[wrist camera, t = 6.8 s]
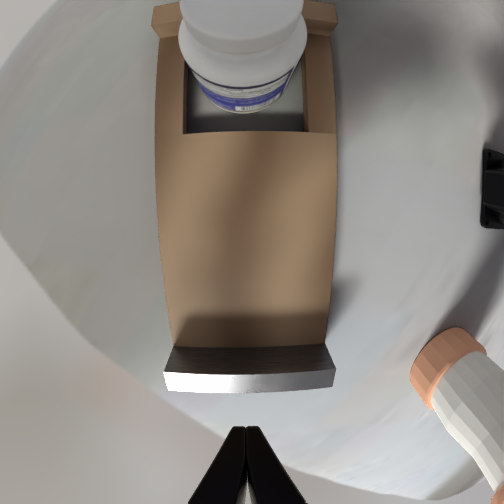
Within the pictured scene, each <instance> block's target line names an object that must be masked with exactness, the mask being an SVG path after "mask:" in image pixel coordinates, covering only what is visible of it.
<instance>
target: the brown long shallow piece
mask: <svg viewBox="0 0 504 504" xmlns="http://www.w3.org/2000/svg"><path fill="white" fill-rule="evenodd" d="M301 14H302V16H303V18H304V21H305V24H306V28H307V41H306V46H305V49H304V51H303V54H302V56H301V66H302V85H303V109H304V132H290V131H230V132H208V133H193V134H187V90H188V64H187V63H186V61H185V59H184V57H183V55H182V52H181V50H180V46H179V40H178V34H179V28H180V24H181V22H182V20H183V16H182V13H181V10H180V2H177V3H171V4H165V5H160V6H154V10H153V16H152V23H151V26H152V28H153V29H154V30H155V32H156V33H157V35H158V36H159V38H160V42H159V52H158V64H157V79H156V99H155V179H156V201H157V217H158V231H159V242H160V253H161V262H162V271H163V280H164V288H165V295H166V302H167V309H168V316H169V322H170V328H171V334H172V340H173V349H172V352H171V354H170V357H169V359H168V362H167V365H166V367H165V370H164V375H165V379H166V383H167V387H168V390H172V391H186V392H207V393H261V392H282V391H296V390H308V389H318V388H327V387H332V386H333V381H334V376H335V371H336V368H335V365H334V363H333V361H332V358H331V356H330V354H329V351H328V349H327V347H326V345H325V338H326V331H327V323H328V314H329V305H330V295H331V285H332V273H333V261H334V246H335V227H336V200H337V133H336V107H335V90H334V76H333V64H332V54H331V44H330V35H331V33H332V32H333V30H334V29H335V27H336V26H337V24H338V19H337V13H336V7H335V4H331V3H324V2H318V1H310V0H304V3H303V8H302V12H301Z"/></svg>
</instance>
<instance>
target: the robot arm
mask: <svg viewBox="0 0 504 504" xmlns="http://www.w3.org/2000/svg"><path fill="white" fill-rule="evenodd" d="M481 226H482V227H484V228H491V229H504V154H502V153H499V152H497V151H494V150H491V149H485V150H484V151H483V199H482V212H481ZM247 478H248V487H249V493H250V498H251V503H252V504H308V503H305V502H306V501H305V500H304V498H303V496H302V495H301V493H300V492H299V490H298V489H297V487H296V486H295V484H294V483H293V481H292V480H291V479H290V477H289V475H288V474H287V472H286V470H285V469H284V467H283V466H282V464H281V462H280V461H279V459H278V458H277V456H276V454H275V453H274V451H273V449H272V448H271V446H270V444H269V443H268V441H267V439H266V438H265V436H264V434H263V433H262V431H261V429H260V428H259V427H258V426H248V427H246V428H245V427H243V426H234V427H232V429H231V430H230V432H229V434H228V436H227V438H226V439H225V441H224V443H223V445H222V446H221V448H220V450H219V452H218V453H217V455H216V457H215V459H214V460H213V462H212V464H211V466H210V467H209V469H208V471H207V472H206V474H205V476H204V477H203V479H202V481H201V482H200V484H199V486H198V487H197V489H196V490H195V492H194V493H193V495H192V497H191V498H190V500H189V502H188V504H245V497H246V490H247Z"/></svg>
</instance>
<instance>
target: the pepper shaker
mask: <svg viewBox="0 0 504 504" xmlns="http://www.w3.org/2000/svg"><path fill="white" fill-rule="evenodd" d="M410 381H411V383H412V385H413V387H414V388H415V390H416V391H417V393H418V394H419V396H420V397H421V399H422V400H423V402H424V403H425V405H426V406H427V407H428V408H430V409H432V410H435V411H436V413H437V415H438V416H439V418H440V420H441V421H442V423H443V425H444V426H445V428H446V430H447V431H448V433H449V434H450V435H451V436H452V437H453V438H454V439H455V440H456V441H457V442H458V443H459V444H460V445H461V446H462V447H463V448H464V449H465V450H466V451H467V452H468V453H469V454H470V455H471V456H472V457H473V458H474V460H475V461H476V463H477V464H478V466H479V467H480V469H481V471H482V472H483V474H484V475H485V477H486V479H487V480H488V482H489V484H490V485H491V487H492V489H493V490H494V491H495V492H496V494H495V495H494V496H493V498H492V499H491V504H504V371H503V370H502V369H501V368H500V367H499V366H498V365H497V364H495V363H494V362H493V361H492V360H491V359H490V358H489V357H487V355H486V350H485V349H484V347H483V346H482V345H481V344H480V343H479V342H478V341H476V340H475V339H474V338H473V337H472V336H471V335H470V334H468V333H467V332H466V331H465V330H464V329H462V328H458V327H454V328H450V329H447V330H445V331H443V332H441V333H440V334H438V335H437V336H436V337H434V338H433V339H432V340H431V341H430V342H429V343H428V344H427V345H426V346H425V347H424V348H423V350H422V351H421V352H420V353H419V355H418V357H417V358H416V360H415V362H414V364H413V367H412V369H411V372H410Z"/></svg>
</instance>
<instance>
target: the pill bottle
mask: <svg viewBox="0 0 504 504" xmlns="http://www.w3.org/2000/svg"><path fill="white" fill-rule="evenodd" d="M303 3H304V0H180V10H181V13H182V16H183V20H182V22H181V24H180V28H179V34H178V40H179V46H180V50H181V52H182V55H183V57H184V59H185V61H186V63H187V64H188V66H189V68H190V69H191V71H192V73H193V75H194V76H195V78H196V80H197V81H198V83H199V85H200V87H201V89H202V91H203V92H204V94H205V95H206V97H207V98H208V99H209V100H210V101H211V102H212V103H213V104H215V105H216V106H218V107H219V108H221V109H224V110H226V111H229V112H233V113H253V112H257V111H260V110H263V109H265V108H267V107H269V106H271V105H272V104H273V103H275V102H276V101H277V100H278V99H279V98H280V97H281V95H282V94H283V92H284V91H285V89H286V87H287V84H288V82H289V80H290V77H291V75H292V73H293V71H294V69H295V67H296V65H297V63H298V61H299V59H300V58H301V56H302V54H303V51H304V49H305V46H306V41H307V28H306V24H305V21H304V18H303V16H302V14H301V12H302V8H303Z"/></svg>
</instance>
